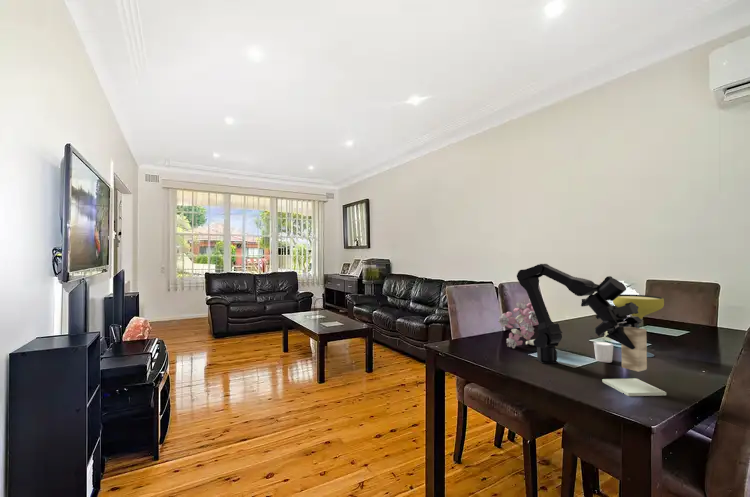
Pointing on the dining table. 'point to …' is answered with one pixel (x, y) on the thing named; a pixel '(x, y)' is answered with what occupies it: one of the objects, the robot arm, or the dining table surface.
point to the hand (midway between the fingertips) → (638, 347)
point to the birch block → (635, 350)
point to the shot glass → (603, 351)
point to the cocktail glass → (641, 306)
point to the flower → (526, 330)
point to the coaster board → (633, 387)
